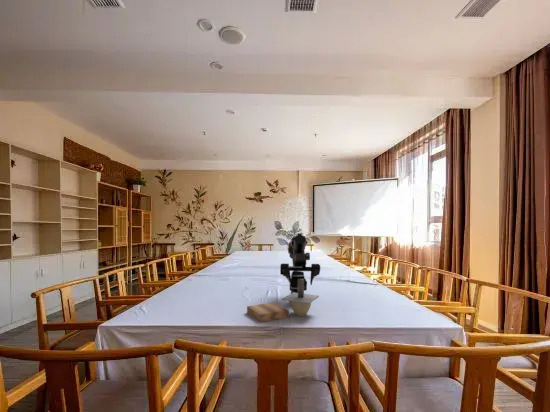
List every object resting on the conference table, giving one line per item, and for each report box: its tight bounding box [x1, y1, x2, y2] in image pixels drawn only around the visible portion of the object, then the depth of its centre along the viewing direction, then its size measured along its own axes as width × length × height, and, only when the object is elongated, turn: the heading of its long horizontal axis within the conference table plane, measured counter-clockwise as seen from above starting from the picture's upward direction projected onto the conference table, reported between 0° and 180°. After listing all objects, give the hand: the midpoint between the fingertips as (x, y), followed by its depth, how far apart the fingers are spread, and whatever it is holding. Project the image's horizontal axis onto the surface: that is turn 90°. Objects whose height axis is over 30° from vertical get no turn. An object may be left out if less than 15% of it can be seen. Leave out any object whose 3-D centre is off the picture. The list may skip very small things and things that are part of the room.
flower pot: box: [289, 301, 312, 317], centre depth 132 cm, size 10×10×7 cm
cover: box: [281, 279, 320, 304], centre depth 132 cm, size 13×13×9 cm
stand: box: [246, 302, 290, 323], centre depth 130 cm, size 14×14×3 cm
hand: (301, 284), depth 131 cm, fingers open, 9 cm apart
